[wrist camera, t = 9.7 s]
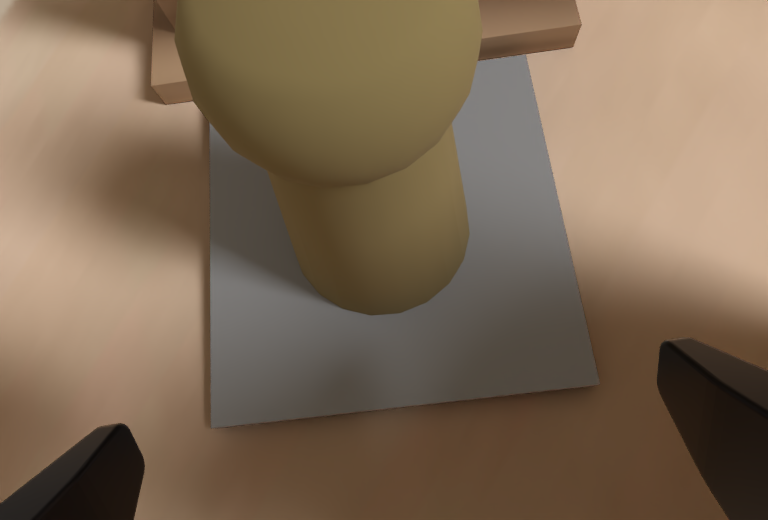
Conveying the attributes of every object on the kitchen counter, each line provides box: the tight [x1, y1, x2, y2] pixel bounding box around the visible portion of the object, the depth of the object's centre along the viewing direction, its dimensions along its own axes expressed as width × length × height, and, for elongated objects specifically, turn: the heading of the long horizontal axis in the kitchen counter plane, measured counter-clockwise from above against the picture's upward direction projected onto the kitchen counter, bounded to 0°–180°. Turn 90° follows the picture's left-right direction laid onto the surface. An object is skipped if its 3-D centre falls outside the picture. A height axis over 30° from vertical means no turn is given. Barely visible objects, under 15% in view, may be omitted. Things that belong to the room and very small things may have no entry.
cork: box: [174, 0, 483, 315], centre depth 13 cm, size 6×6×11 cm
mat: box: [209, 55, 600, 428], centre depth 18 cm, size 12×12×1 cm
